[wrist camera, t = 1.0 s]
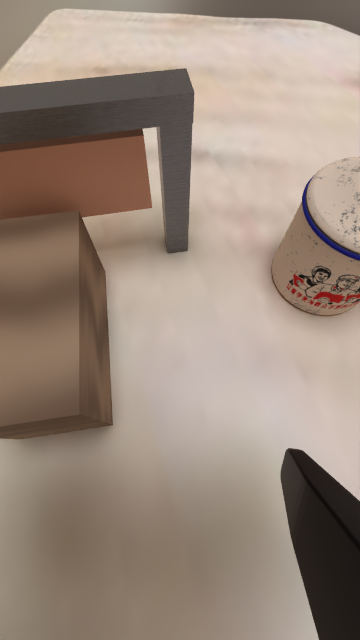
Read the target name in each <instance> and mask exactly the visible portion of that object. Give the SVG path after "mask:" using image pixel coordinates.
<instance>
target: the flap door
mask: <svg viewBox="0 0 360 640" xmlns="http://www.w3.org/2000/svg"><path fill="white" fill-rule="evenodd" d="M148 208H152V202H151V194H150V186H149V177H148V169H147V160H146V152H145V143H144V135H143V130H142V129H134V130H125V131H117V132H108V133H99V134H90V135H81V136H73V137H64V138H55V139H46V140H37V141H29V142H20V143H11V144H2V145H0V219H8V218H18V217H27V216H36V215H45V214H54V213H63V212H72V211H79V213H80V215H81V217H88V216H95V215H103V214H110V213H118V212H125V211H133V210H140V209H148Z"/></svg>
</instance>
